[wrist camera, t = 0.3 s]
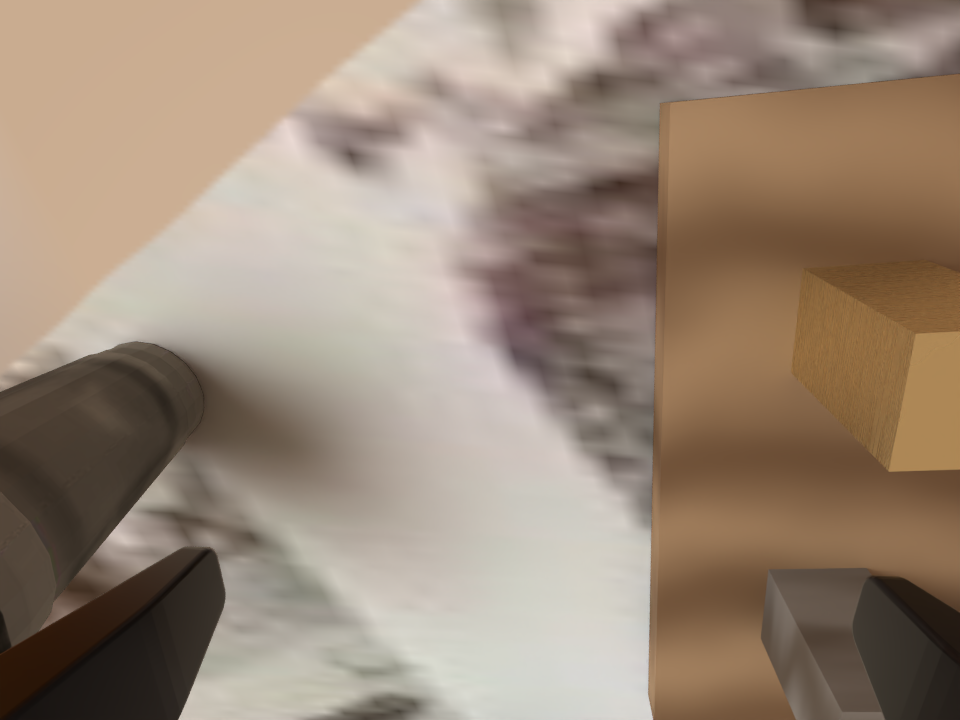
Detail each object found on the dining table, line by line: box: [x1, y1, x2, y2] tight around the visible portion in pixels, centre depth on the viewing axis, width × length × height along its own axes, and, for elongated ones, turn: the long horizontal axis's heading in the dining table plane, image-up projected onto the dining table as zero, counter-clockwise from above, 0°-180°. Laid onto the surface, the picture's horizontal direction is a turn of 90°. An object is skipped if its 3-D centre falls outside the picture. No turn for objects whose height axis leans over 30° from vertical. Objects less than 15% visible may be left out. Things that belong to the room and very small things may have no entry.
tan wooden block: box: [791, 260, 960, 472], centre depth 16 cm, size 4×4×6 cm
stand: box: [648, 74, 960, 720], centre depth 19 cm, size 26×12×8 cm, turn 6°
